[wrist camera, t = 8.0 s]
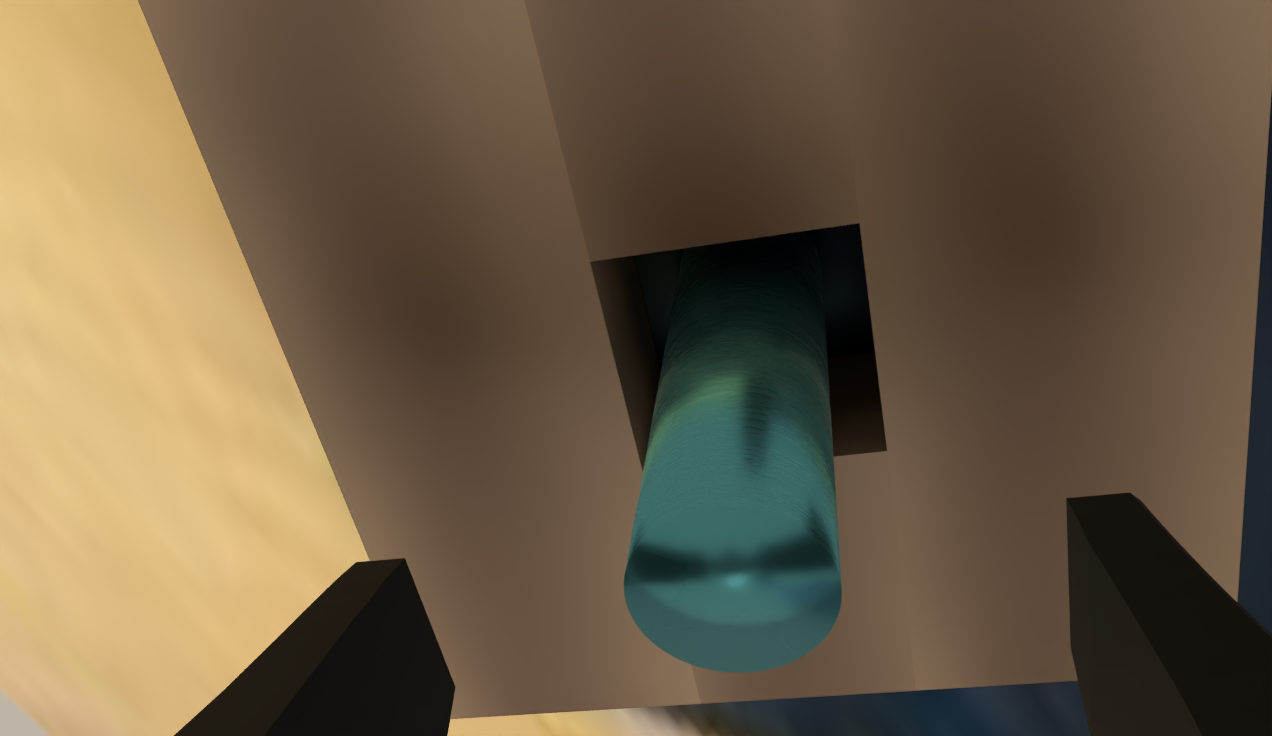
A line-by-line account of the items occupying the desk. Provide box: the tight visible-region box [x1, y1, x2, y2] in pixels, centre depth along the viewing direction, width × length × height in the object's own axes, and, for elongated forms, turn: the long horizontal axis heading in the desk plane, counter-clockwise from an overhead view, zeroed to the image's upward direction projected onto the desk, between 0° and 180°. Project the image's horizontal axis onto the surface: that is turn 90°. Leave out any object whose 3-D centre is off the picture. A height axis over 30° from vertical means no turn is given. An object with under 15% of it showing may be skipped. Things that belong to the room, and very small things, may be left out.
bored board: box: [138, 0, 1272, 719], centre depth 18 cm, size 14×14×3 cm
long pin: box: [624, 231, 842, 673], centre depth 16 cm, size 2×2×8 cm
